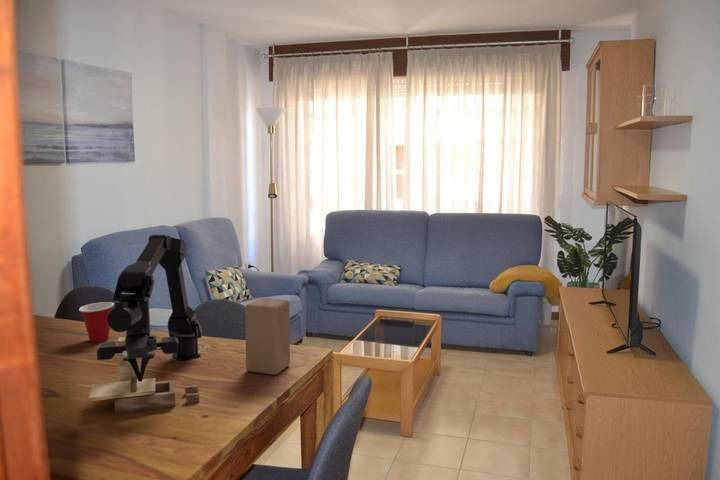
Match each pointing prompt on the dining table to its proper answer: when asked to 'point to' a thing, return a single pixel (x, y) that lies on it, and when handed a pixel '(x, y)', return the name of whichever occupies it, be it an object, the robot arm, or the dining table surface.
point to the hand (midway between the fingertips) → (140, 381)
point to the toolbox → (155, 398)
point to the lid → (122, 389)
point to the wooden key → (124, 364)
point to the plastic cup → (97, 320)
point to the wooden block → (267, 335)
